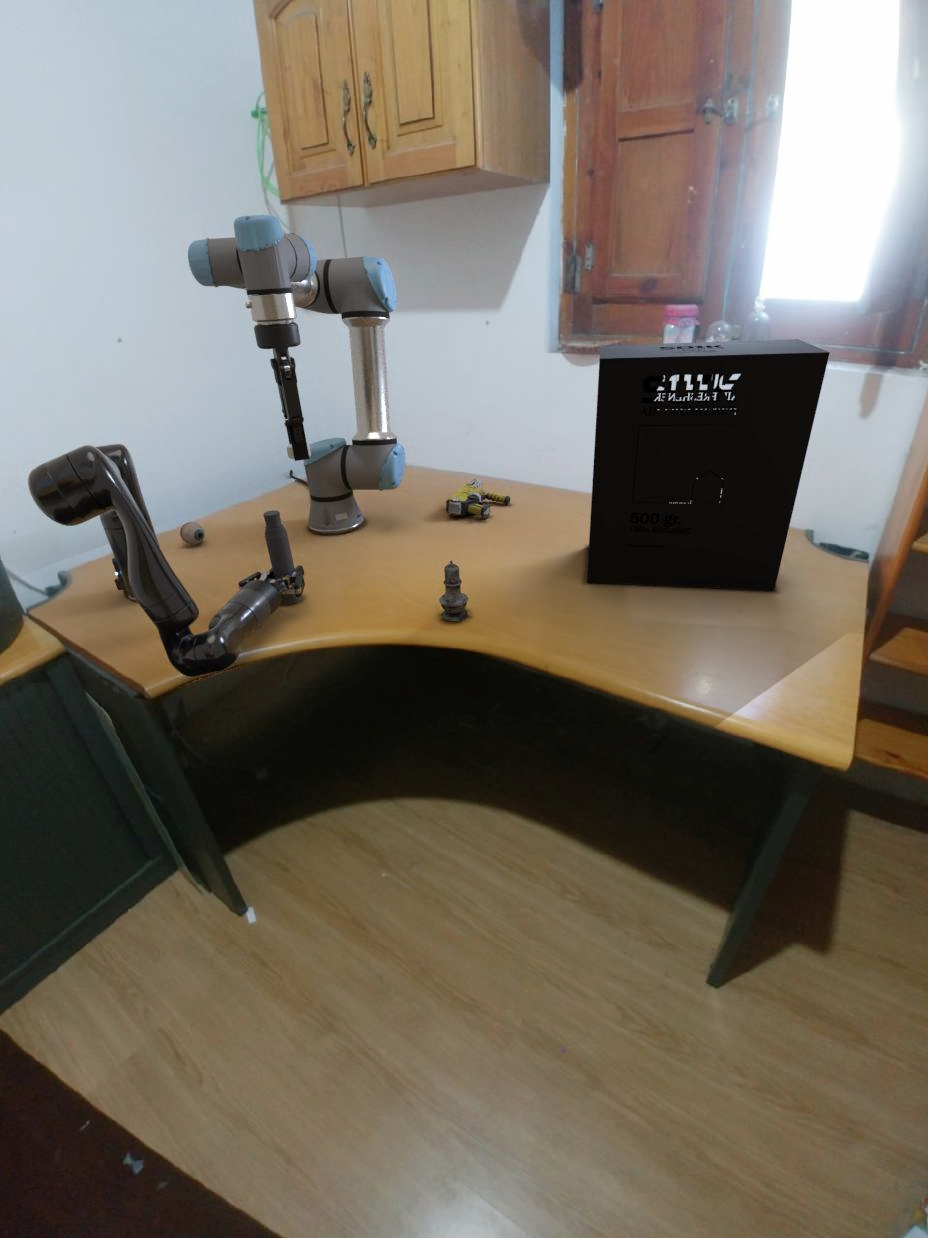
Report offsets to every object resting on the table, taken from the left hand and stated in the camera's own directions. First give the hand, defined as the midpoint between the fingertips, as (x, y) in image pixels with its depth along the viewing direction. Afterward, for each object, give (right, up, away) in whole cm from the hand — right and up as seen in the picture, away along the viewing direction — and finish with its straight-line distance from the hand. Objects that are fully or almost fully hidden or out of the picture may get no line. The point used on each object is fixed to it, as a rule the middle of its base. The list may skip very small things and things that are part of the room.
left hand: (290, 568), depth 130 cm
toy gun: (+43, +22, +46) cm, 67 cm away
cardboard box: (+85, +1, +5) cm, 85 cm away
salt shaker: (+36, -10, -9) cm, 38 cm away
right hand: (+6, +21, -14) cm, 26 cm away
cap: (+6, +22, -15) cm, 27 cm away
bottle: (0, -7, +1) cm, 7 cm away
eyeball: (-35, +9, +32) cm, 48 cm away
